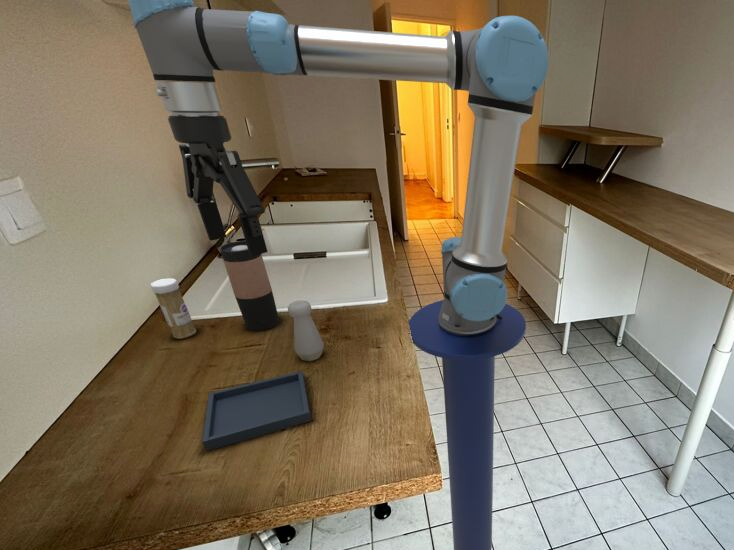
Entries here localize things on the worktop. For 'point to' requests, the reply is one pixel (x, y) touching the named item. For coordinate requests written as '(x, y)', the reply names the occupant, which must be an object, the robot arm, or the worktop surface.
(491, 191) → the robot arm
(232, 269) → the travel mug
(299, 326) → the salt shaker
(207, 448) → the tray
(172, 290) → the sprinkles bottle
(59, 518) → the worktop surface
